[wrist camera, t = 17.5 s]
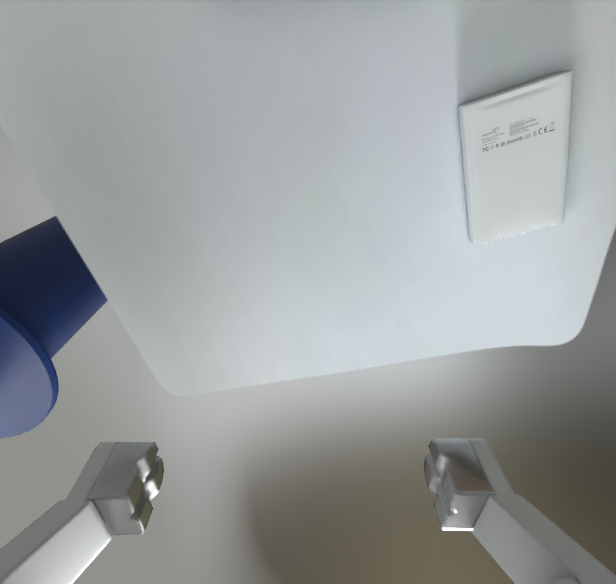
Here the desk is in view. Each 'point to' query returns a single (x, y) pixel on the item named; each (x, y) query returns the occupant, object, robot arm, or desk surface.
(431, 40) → the desk surface
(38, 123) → the desk surface
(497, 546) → the robot arm
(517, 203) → the hard drive
